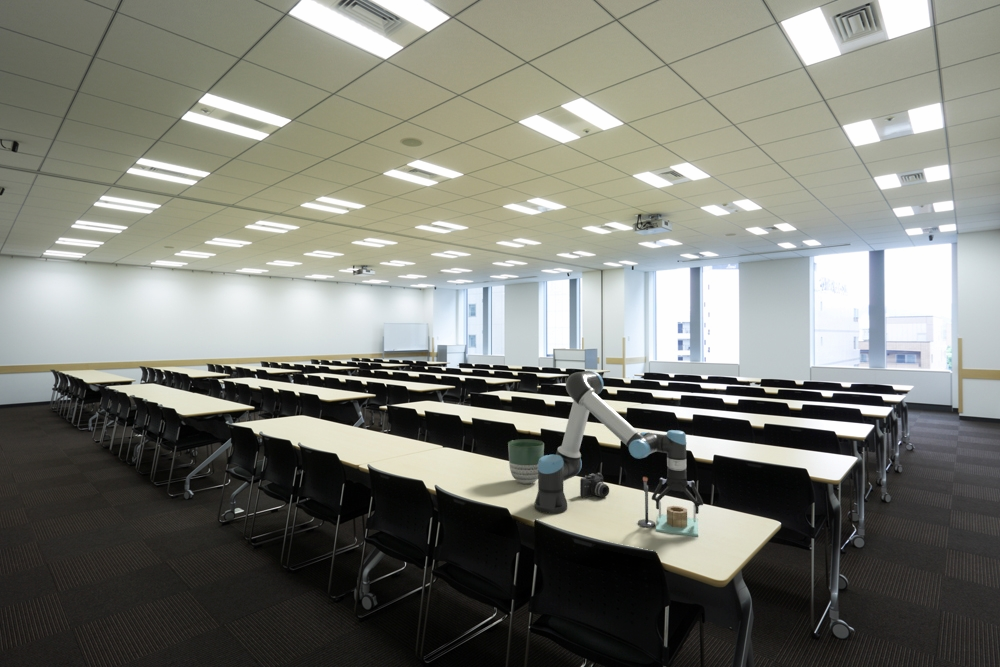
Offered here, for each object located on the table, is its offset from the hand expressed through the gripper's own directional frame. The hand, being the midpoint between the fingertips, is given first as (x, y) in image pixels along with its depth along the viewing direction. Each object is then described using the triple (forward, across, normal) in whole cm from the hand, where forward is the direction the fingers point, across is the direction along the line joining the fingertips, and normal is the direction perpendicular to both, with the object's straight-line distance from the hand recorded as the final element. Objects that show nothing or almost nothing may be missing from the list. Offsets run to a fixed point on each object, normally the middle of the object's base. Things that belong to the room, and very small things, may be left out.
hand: (677, 519), depth 205 cm
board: (+3, 0, 0) cm, 3 cm away
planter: (+3, -78, +36) cm, 86 cm away
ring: (+2, 0, 0) cm, 2 cm away
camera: (+3, -38, +27) cm, 47 cm away
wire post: (+3, -12, -5) cm, 13 cm away
